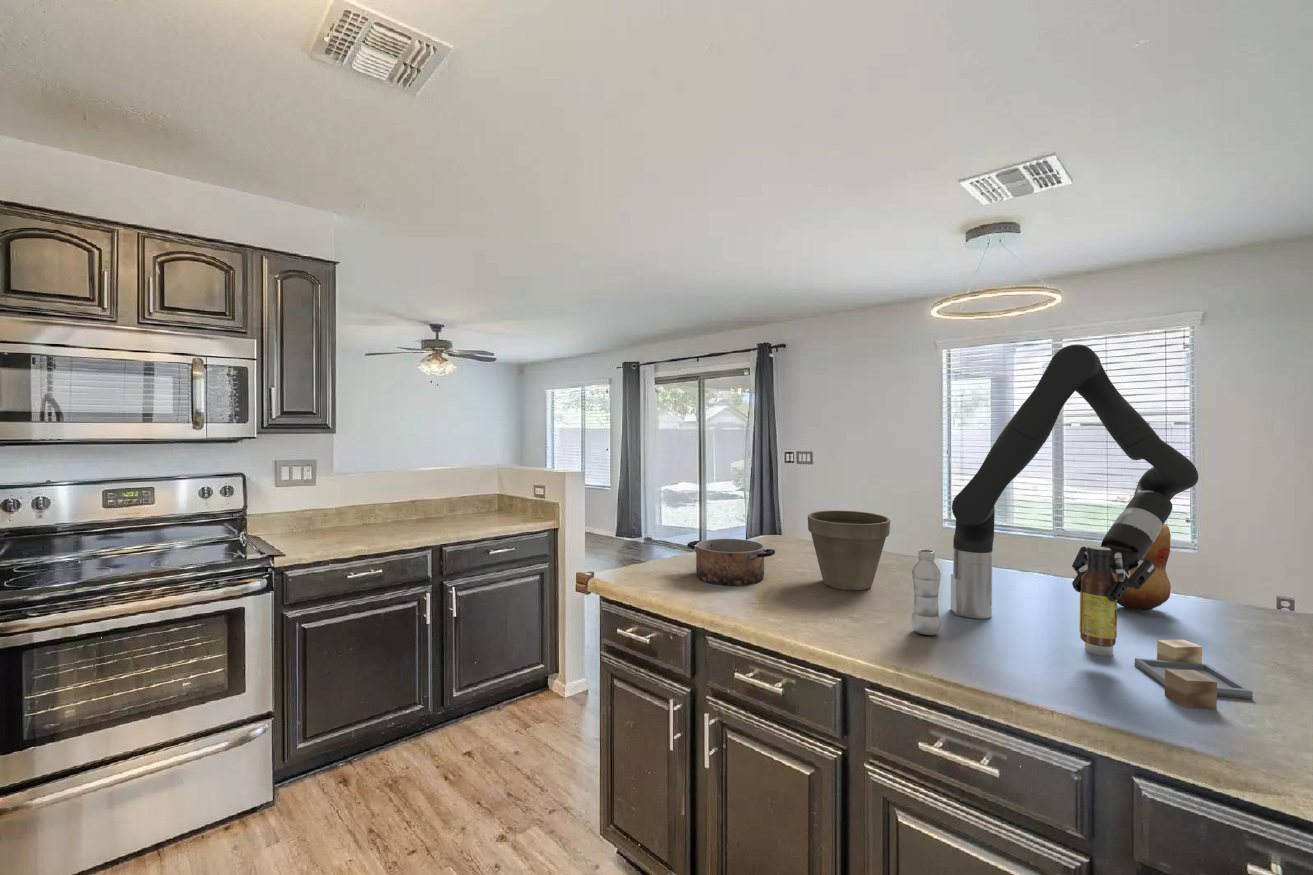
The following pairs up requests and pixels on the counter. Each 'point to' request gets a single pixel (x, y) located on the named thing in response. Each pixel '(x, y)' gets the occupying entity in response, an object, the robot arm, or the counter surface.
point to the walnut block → (1191, 689)
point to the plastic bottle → (926, 594)
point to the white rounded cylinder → (1099, 650)
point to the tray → (1224, 683)
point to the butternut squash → (1151, 578)
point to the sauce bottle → (1098, 600)
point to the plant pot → (848, 546)
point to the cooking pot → (730, 561)
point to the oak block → (1179, 651)
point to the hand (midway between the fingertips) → (1092, 594)
